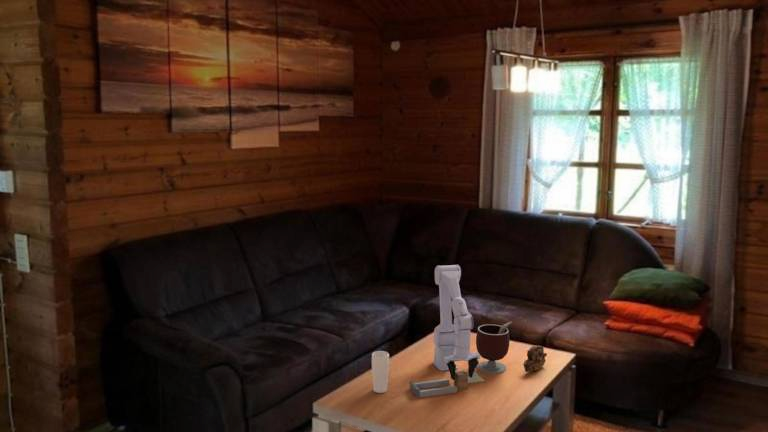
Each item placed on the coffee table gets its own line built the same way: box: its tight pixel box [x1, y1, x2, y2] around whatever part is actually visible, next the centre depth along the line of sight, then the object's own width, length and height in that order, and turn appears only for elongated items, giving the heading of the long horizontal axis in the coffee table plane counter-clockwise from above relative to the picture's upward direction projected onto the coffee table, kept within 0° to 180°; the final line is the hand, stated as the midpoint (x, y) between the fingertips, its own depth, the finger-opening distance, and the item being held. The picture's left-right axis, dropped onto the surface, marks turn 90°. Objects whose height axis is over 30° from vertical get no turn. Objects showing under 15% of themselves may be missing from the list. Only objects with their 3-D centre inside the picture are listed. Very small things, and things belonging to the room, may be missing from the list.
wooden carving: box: [522, 345, 548, 373], centre depth 266 cm, size 16×5×10 cm, turn 143°
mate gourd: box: [475, 321, 513, 375], centre depth 266 cm, size 16×14×20 cm
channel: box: [409, 378, 458, 399], centre depth 245 cm, size 8×16×3 cm, turn 109°
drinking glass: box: [371, 350, 390, 394], centre depth 243 cm, size 7×7×15 cm
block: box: [453, 370, 469, 391], centre depth 248 cm, size 4×4×6 cm
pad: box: [466, 372, 485, 384], centre depth 257 cm, size 8×8×1 cm
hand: (461, 377), depth 249 cm, fingers open, 7 cm apart
